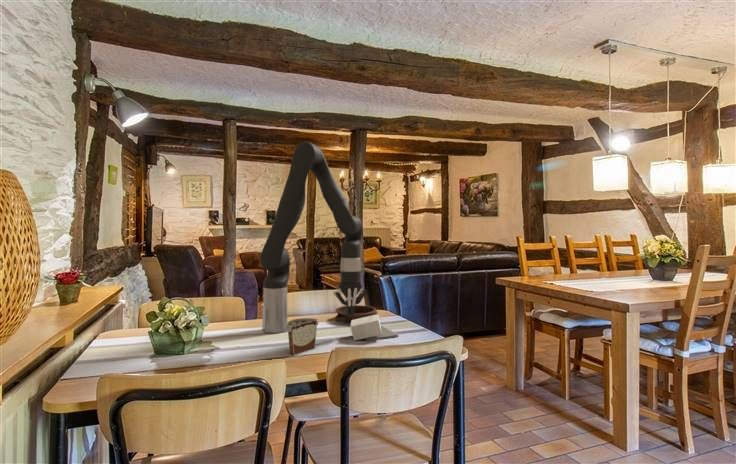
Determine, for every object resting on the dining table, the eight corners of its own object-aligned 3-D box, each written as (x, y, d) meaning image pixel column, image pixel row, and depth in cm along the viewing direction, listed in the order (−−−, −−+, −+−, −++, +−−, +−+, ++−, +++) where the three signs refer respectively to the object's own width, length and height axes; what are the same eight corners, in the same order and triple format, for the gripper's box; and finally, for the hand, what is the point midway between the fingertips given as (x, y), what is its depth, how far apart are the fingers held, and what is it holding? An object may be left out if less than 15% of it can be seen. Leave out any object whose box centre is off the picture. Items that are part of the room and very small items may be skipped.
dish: (323, 320, 185) (323, 308, 185) (363, 313, 199) (363, 302, 199) (347, 328, 172) (347, 316, 172) (388, 320, 186) (388, 309, 186)
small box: (353, 341, 154) (381, 334, 153) (350, 326, 153) (378, 320, 153) (354, 333, 162) (381, 328, 161) (351, 319, 161) (378, 314, 161)
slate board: (366, 340, 154) (366, 338, 154) (352, 331, 167) (352, 329, 167) (398, 337, 159) (398, 334, 159) (382, 328, 172) (382, 326, 172)
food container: (305, 344, 149) (305, 316, 149) (318, 347, 145) (318, 318, 145) (278, 352, 140) (277, 322, 139) (290, 356, 136) (290, 325, 135)
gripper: (363, 267, 164) (362, 312, 164) (330, 269, 159) (330, 315, 159) (370, 269, 157) (370, 316, 158) (337, 271, 152) (337, 319, 152)
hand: (350, 315), depth 158 cm, fingers closed
